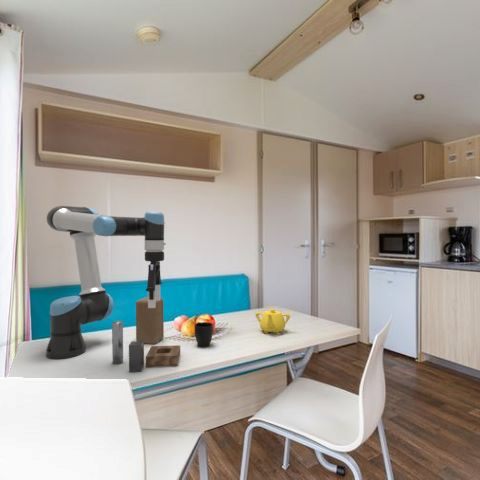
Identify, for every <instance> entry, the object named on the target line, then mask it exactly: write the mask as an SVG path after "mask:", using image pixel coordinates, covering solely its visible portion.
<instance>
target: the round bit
mask: <svg viewBox="0 0 480 480" xmlns="http://www.w3.org/2000/svg"><path fill="white" fill-rule="evenodd" d="M111 328H112V329H111V332H112V333H111V334H112V335H111V337H112V338H111V339H112V342H111V343H112V347H111V349H112V354H111V355H112V356H111V357H112V365H121V364H123V363H124V322H123V320H115V321H112V323H111Z"/></svg>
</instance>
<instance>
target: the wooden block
mask: <svg viewBox="0 0 480 480" xmlns="http://www.w3.org/2000/svg"><path fill="white" fill-rule="evenodd" d="M164 320H165V319H164V298H163V297H160V301H156V308H148V296H145V297H143V298H140V299H138V300H136V301H135V330H136V331H135V341H144V344H146V345H148V344H149V345H155V344H158V343H159V342H160V341H161V340H163V338H165V337H164V335H165V334H164V333H165V331H164Z"/></svg>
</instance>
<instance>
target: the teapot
mask: <svg viewBox="0 0 480 480" xmlns="http://www.w3.org/2000/svg"><path fill="white" fill-rule="evenodd" d="M260 315H261V318H260ZM284 316H285V317H286V318H285V317H284ZM255 318H256V319H257V321H258V322H259V327H260V329H261V330H262V332H263V331H264V332H263V334H264V333H265V335H267V334H269V333H274V335H277V336H278V335H281V333H280V332H283V331H284V329H285V328H286V324H287V323H288V322H289V320H290V318H291V314H290V313H282V312H281V311H279V310H276V308H270V309H269V310H266V311H263V312H259V311H257V312H255Z"/></svg>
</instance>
